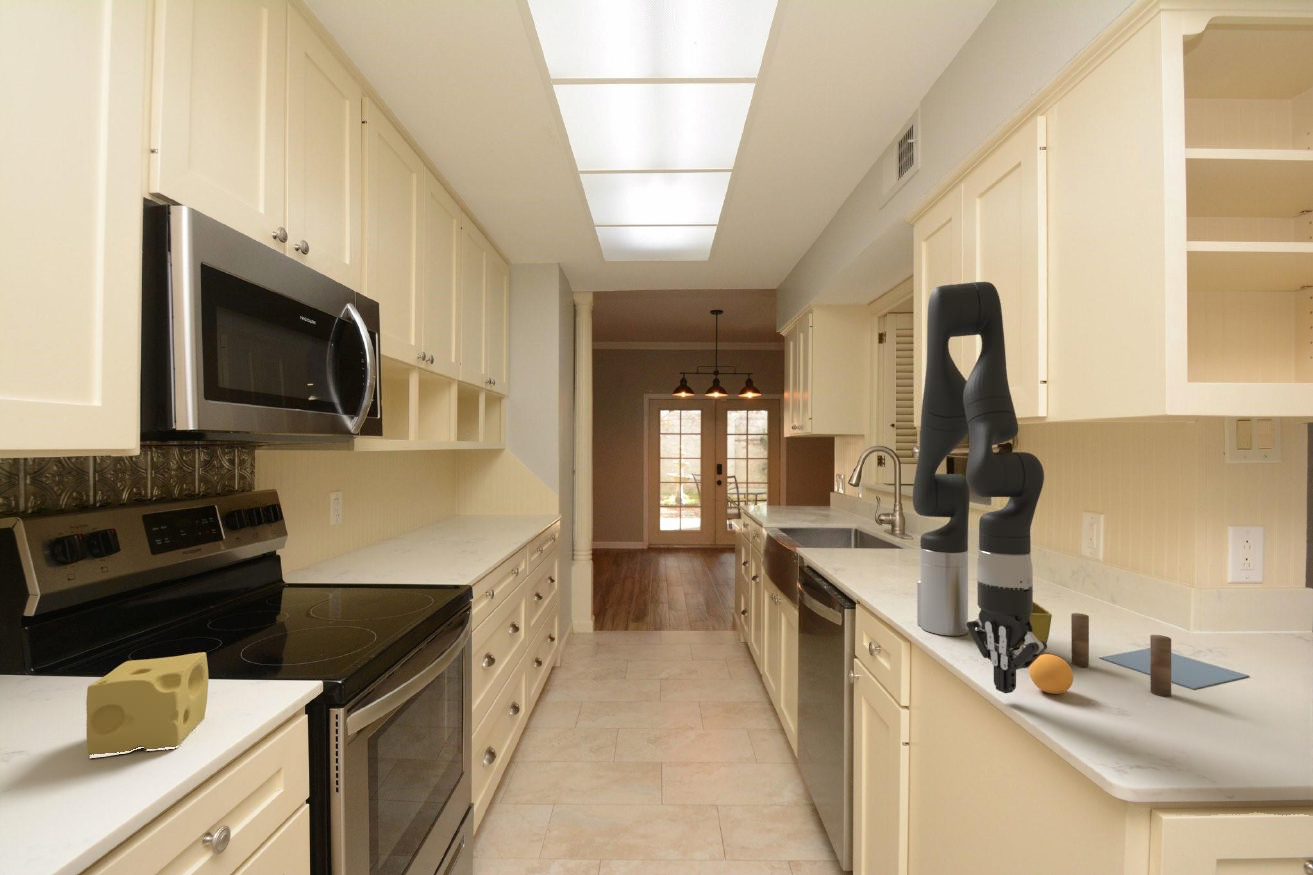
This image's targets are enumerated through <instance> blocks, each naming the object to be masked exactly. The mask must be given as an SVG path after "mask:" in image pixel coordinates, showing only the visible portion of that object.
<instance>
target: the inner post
mask: <svg viewBox="0 0 1313 875" xmlns="http://www.w3.org/2000/svg"><path fill="white" fill-rule="evenodd" d="M1070 617H1071V623H1070V624H1071V626H1070V627H1071V629H1070V630H1071V632H1070V633H1071V642H1070V644H1071V647H1070V648H1071V649H1070V650H1071V665H1072V666H1073V667H1078V668H1081V669H1082V668H1083V669H1084V668H1085V669H1086V668H1089V667H1090V616H1089V615H1088V614H1084V613H1081V612H1073V613H1071V616H1070Z"/></svg>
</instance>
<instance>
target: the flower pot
mask: <svg viewBox="0 0 1313 875" xmlns="http://www.w3.org/2000/svg"><path fill="white" fill-rule="evenodd" d="M1052 617H1053V614H1052V613H1051V612H1049V611H1048V610H1047V609H1045V608H1044V607H1043V606H1041V605H1040V604H1038V603H1036V602H1035V601H1033V611H1032V613H1031V616H1030V622H1031V625H1032V627H1033V632H1032V633H1033V634H1034V636H1035V637H1036V638H1037V639H1038V640H1039V641H1044V642H1045V643H1046V644H1047V643H1048V642H1049V641H1048V640H1049V637H1050V629H1051V624H1052ZM1024 643H1025V642H1024ZM1024 643H1023V645H1024ZM1023 645H1022V650H1023V649H1024V647H1023Z"/></svg>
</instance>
